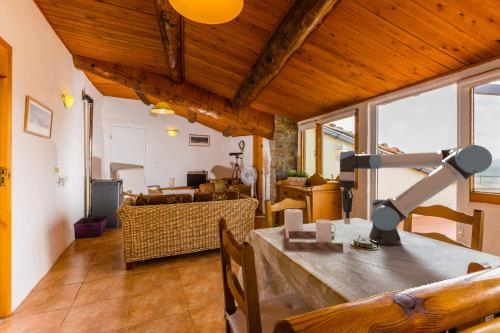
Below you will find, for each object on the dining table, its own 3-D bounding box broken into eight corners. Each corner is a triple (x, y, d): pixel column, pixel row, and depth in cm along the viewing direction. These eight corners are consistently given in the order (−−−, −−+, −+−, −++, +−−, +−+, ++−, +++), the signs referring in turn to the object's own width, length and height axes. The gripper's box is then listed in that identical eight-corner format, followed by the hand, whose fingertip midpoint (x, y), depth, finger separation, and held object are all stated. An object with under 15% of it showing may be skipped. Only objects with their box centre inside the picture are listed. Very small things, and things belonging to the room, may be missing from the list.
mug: (331, 239, 134) (331, 218, 133) (340, 244, 125) (340, 222, 125) (312, 241, 131) (312, 219, 131) (320, 246, 123) (320, 223, 122)
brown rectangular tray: (333, 237, 138) (333, 228, 138) (343, 250, 117) (343, 240, 117) (284, 235, 141) (284, 227, 141) (285, 248, 120) (285, 238, 120)
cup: (284, 230, 152) (284, 212, 152) (284, 226, 164) (284, 208, 163) (303, 231, 150) (303, 212, 150) (302, 226, 162) (302, 209, 161)
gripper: (337, 178, 133) (336, 220, 134) (343, 180, 120) (342, 226, 121) (350, 179, 132) (350, 221, 133) (358, 180, 119) (358, 227, 120)
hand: (346, 223), depth 127 cm, fingers closed
